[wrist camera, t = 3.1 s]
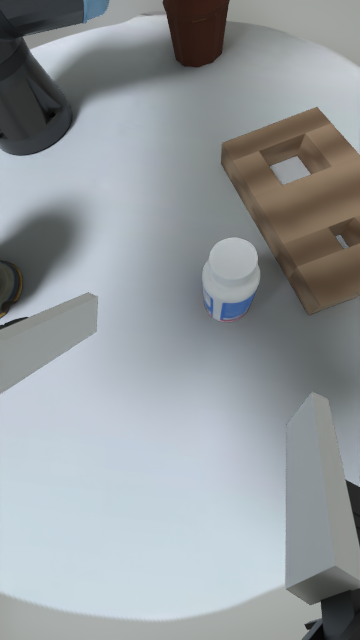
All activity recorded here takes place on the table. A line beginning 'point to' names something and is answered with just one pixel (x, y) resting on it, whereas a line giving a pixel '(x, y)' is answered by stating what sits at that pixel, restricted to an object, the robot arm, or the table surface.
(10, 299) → the apothecary jar
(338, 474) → the robot arm
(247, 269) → the pill bottle
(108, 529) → the table surface
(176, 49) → the muffin
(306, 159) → the socket board
